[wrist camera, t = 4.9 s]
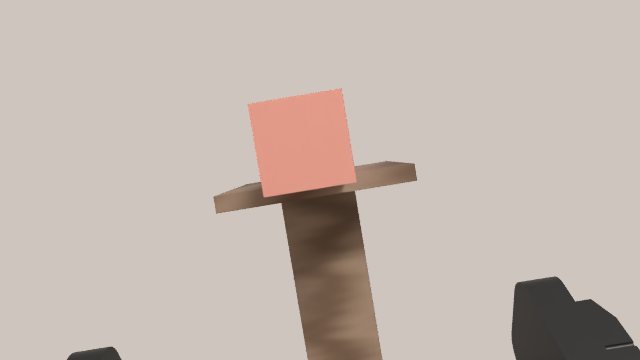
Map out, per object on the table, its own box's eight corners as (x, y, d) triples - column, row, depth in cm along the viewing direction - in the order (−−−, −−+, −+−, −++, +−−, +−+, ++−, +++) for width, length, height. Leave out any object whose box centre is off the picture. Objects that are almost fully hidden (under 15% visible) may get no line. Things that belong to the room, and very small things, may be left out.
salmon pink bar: (340, 169, 45) (332, 121, 45) (356, 182, 23) (341, 88, 23) (292, 177, 45) (284, 129, 45) (263, 197, 23) (247, 104, 23)
